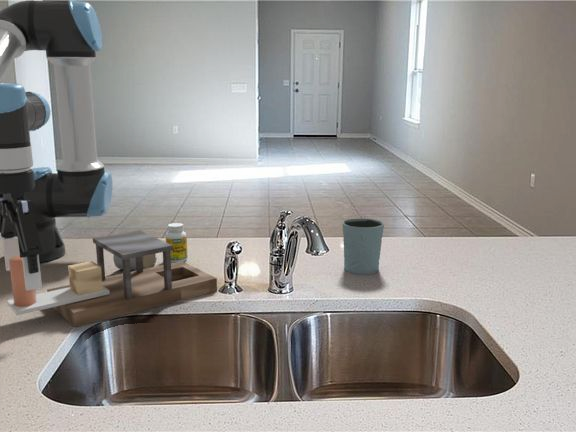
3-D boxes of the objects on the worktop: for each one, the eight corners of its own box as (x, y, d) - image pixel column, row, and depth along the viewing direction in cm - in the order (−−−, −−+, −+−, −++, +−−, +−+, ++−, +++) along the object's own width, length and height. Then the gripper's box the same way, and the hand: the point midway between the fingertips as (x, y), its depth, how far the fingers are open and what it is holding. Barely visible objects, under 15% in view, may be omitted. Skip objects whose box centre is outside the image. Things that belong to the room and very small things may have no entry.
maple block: (70, 288, 122) (68, 265, 121) (93, 283, 125) (92, 261, 124) (78, 295, 119) (76, 271, 117) (102, 290, 122) (101, 266, 120)
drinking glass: (337, 272, 145) (338, 225, 143) (345, 261, 155) (347, 216, 152) (378, 277, 142) (380, 228, 140) (384, 264, 152) (386, 219, 149)
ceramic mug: (142, 276, 143) (141, 245, 141) (113, 272, 145) (111, 242, 143) (164, 264, 153) (163, 235, 151) (136, 260, 155) (135, 232, 153)
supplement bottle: (182, 255, 159) (180, 221, 157) (191, 260, 155) (189, 225, 152) (163, 259, 156) (161, 224, 153) (172, 264, 151) (170, 228, 149)
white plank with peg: (7, 304, 116) (1, 256, 114) (96, 284, 127) (93, 241, 125) (17, 315, 111) (11, 265, 108) (109, 294, 122) (106, 248, 119)
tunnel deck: (48, 302, 126) (43, 246, 123) (182, 272, 145) (180, 223, 142) (74, 327, 113) (69, 265, 111) (217, 290, 133) (215, 237, 130)
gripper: (-27, 162, 116) (-14, 265, 121) (7, 182, 97) (21, 302, 102) (14, 159, 120) (25, 258, 126) (53, 177, 101) (64, 292, 107)
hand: (23, 278), depth 114 cm, fingers open, 13 cm apart
